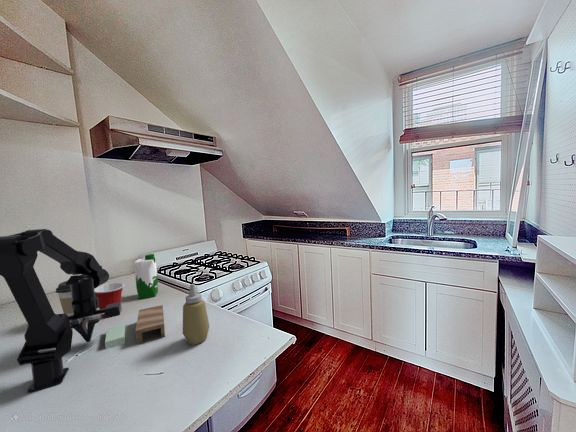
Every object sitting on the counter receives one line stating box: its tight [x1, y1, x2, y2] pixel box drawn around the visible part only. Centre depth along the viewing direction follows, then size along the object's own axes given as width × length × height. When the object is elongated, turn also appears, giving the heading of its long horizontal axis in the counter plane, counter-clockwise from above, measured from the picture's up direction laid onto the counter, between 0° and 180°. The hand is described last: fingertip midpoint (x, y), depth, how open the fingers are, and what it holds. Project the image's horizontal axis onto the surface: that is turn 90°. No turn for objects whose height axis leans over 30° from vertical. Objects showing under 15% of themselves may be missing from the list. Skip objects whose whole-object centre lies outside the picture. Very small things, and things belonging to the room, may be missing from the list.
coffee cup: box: [55, 280, 74, 316], centre depth 103 cm, size 11×11×15 cm
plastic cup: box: [94, 282, 125, 319], centre depth 104 cm, size 11×11×12 cm
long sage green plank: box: [104, 322, 126, 350], centre depth 85 cm, size 12×5×3 cm, turn 32°
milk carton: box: [133, 253, 159, 300], centre depth 124 cm, size 9×9×20 cm
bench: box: [135, 304, 166, 345], centre depth 90 cm, size 18×8×5 cm, turn 27°
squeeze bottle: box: [182, 283, 210, 345], centre depth 80 cm, size 8×8×18 cm
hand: (88, 341), depth 82 cm, fingers closed
